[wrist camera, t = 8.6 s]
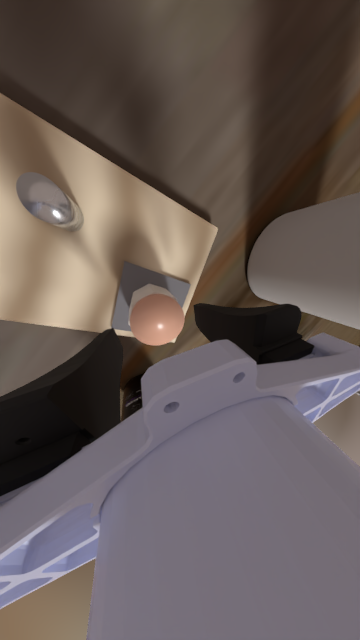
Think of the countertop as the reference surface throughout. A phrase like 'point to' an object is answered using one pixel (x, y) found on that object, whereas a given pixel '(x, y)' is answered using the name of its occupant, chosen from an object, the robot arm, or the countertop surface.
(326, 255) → the cylinder vase
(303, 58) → the countertop surface
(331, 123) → the countertop surface
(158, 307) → the brown egg in cup
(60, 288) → the board
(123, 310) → the pad
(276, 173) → the countertop surface
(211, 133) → the countertop surface
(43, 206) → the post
